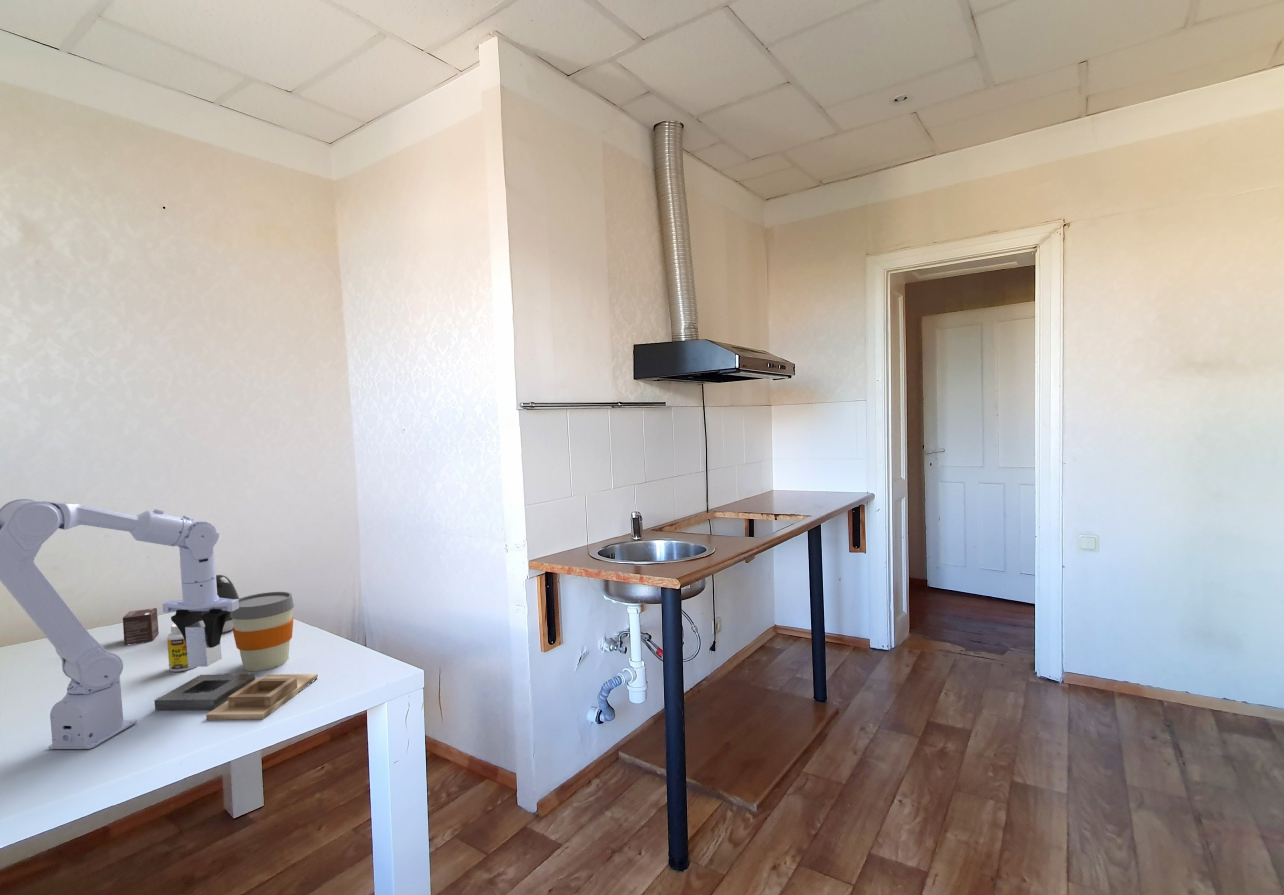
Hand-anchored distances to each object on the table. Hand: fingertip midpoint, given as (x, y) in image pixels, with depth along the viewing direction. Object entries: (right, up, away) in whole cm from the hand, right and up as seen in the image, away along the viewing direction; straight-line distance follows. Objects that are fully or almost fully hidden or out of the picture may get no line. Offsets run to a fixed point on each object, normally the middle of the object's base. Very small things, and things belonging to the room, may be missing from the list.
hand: (203, 646), depth 128 cm
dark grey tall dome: (-24, -9, +42) cm, 49 cm away
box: (-42, -10, +37) cm, 57 cm away
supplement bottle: (-16, -10, +16) cm, 25 cm away
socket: (0, -10, +1) cm, 10 cm away
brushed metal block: (0, -3, 0) cm, 3 cm away
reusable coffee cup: (+2, -10, +17) cm, 20 cm away
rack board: (+13, -10, -1) cm, 17 cm away
